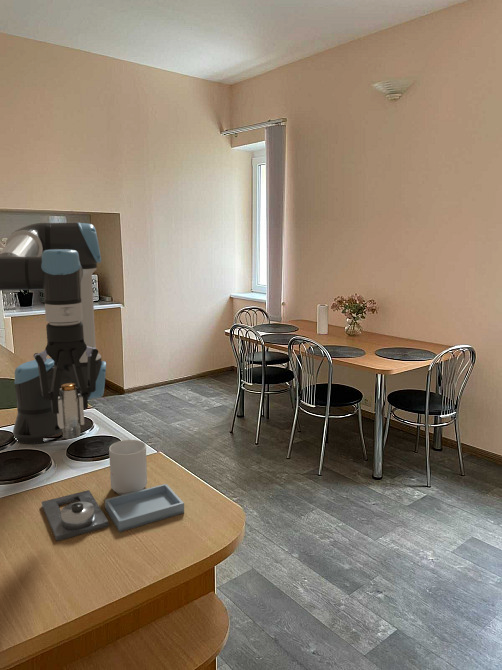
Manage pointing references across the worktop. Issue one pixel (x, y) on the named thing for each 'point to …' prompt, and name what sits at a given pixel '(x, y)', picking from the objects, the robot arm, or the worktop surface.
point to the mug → (128, 466)
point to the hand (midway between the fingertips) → (71, 424)
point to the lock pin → (70, 410)
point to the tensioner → (74, 515)
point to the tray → (143, 507)
